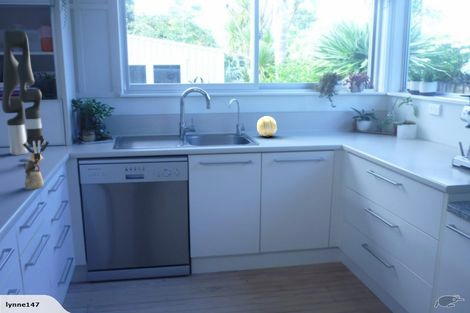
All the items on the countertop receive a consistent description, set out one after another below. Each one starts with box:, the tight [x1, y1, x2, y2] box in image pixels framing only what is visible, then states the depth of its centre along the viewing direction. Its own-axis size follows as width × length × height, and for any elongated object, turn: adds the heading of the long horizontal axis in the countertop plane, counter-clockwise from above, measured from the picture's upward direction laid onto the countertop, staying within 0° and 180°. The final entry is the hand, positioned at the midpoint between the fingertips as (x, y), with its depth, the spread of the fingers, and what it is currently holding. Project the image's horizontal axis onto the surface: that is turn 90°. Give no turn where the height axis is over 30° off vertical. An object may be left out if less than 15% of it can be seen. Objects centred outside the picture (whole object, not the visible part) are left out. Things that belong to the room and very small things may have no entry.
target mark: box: [19, 156, 45, 163], centre depth 235 cm, size 12×12×1 cm
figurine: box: [23, 159, 44, 190], centre depth 178 cm, size 7×7×12 cm
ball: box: [29, 153, 43, 163], centre depth 226 cm, size 6×6×6 cm
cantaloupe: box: [256, 115, 278, 138], centre depth 308 cm, size 15×15×15 cm
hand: (37, 160), depth 223 cm, fingers closed
